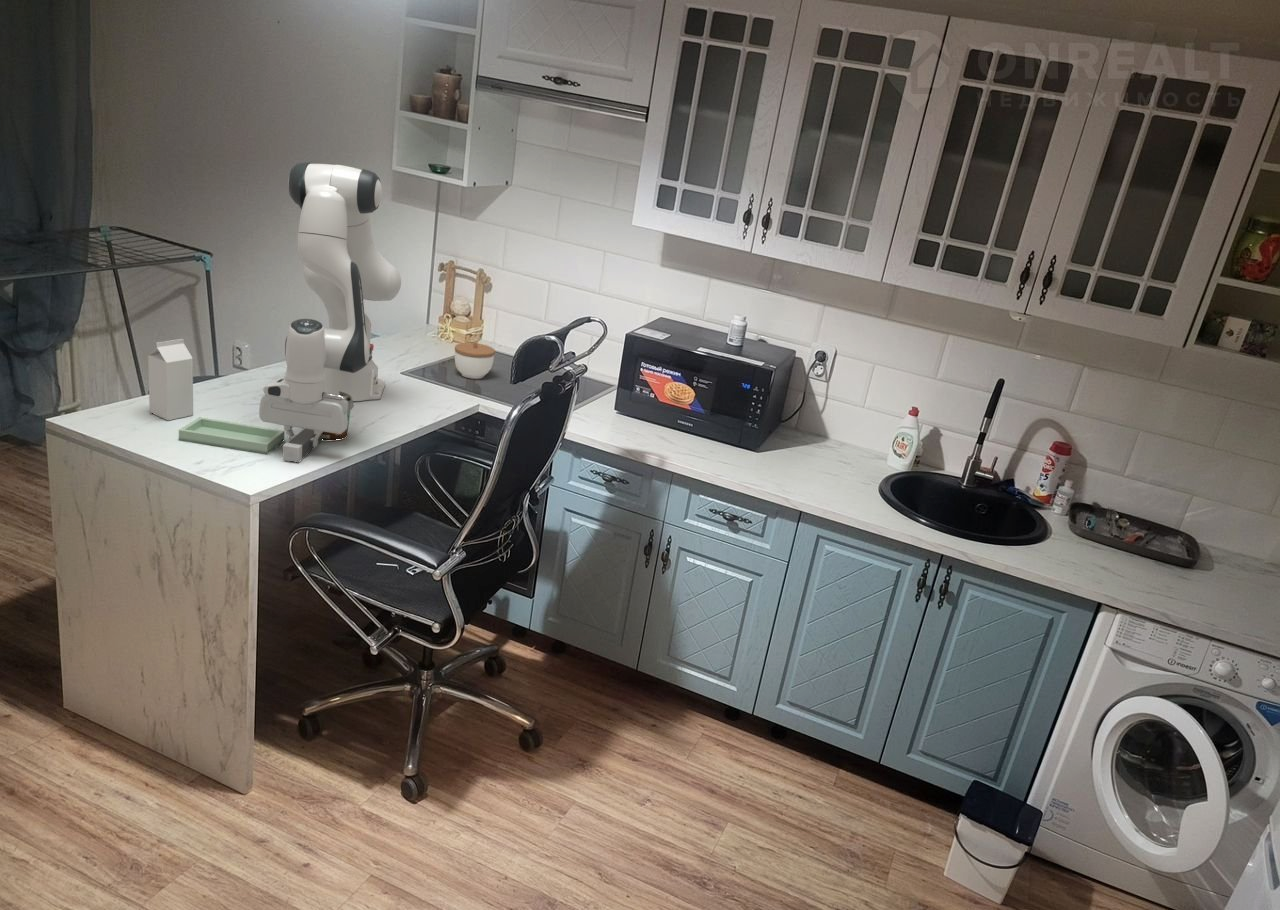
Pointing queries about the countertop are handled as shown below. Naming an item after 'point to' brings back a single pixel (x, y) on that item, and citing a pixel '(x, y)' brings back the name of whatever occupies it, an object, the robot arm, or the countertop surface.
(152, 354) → the milk carton
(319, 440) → the dark grey bar
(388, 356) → the countertop surface
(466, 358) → the lidded bowl
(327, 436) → the food container
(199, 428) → the tray
